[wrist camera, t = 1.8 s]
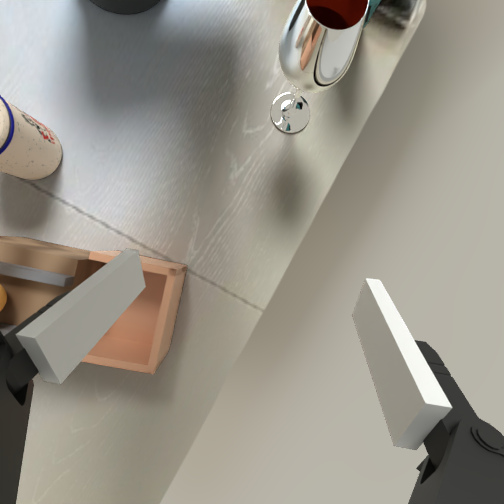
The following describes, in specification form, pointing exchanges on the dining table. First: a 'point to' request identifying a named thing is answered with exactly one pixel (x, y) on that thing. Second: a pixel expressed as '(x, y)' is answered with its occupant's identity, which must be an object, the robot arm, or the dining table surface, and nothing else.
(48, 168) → the teacup with lid
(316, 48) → the wineglass
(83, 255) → the launcher
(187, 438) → the dining table surface
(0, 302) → the ball
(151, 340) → the cup
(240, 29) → the dining table surface
